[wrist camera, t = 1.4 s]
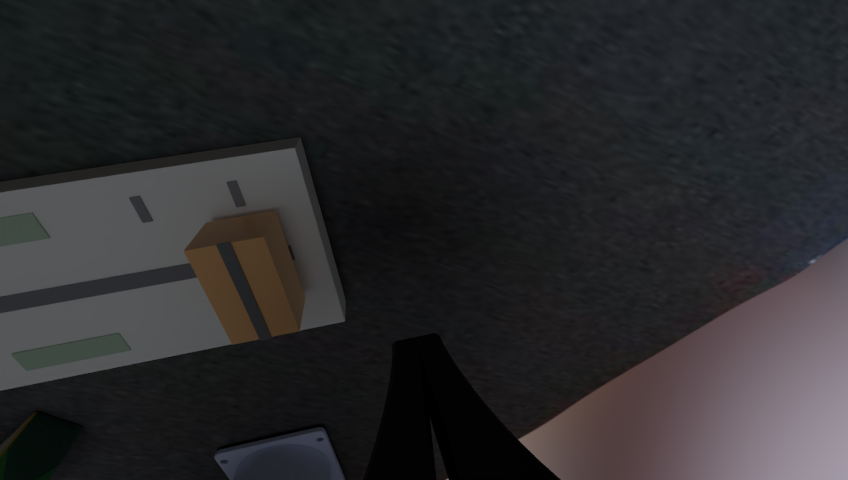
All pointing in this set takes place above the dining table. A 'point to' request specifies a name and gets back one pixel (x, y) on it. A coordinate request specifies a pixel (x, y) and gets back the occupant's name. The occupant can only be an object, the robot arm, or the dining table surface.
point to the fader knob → (248, 276)
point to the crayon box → (36, 448)
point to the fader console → (142, 257)
